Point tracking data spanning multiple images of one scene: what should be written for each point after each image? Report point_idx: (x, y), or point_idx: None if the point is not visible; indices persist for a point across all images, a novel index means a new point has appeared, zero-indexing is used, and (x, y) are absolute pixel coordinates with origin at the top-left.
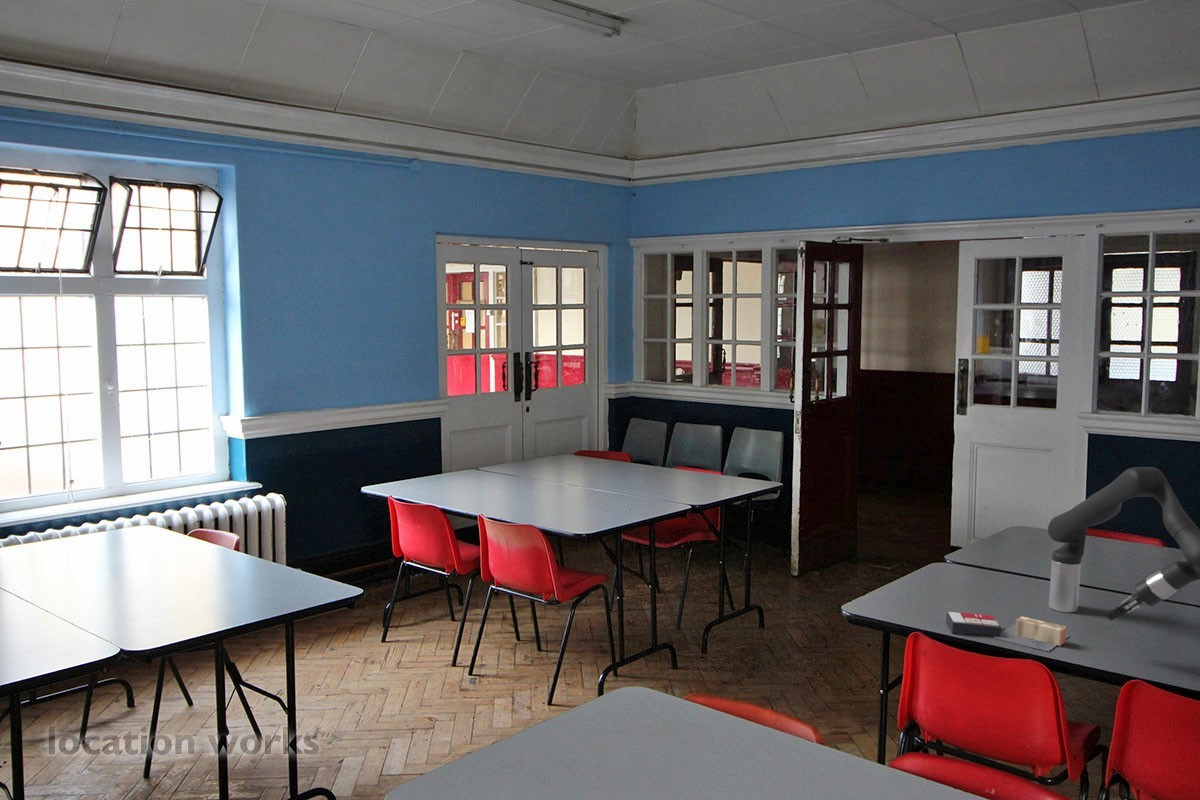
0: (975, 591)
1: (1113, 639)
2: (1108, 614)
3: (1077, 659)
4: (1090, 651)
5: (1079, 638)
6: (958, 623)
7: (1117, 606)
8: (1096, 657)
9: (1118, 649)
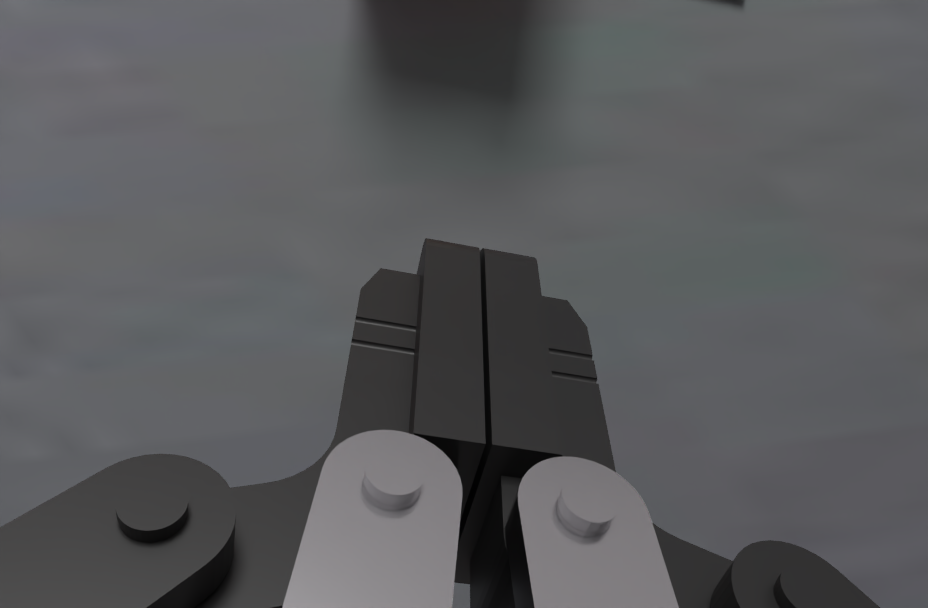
0: None
1: (920, 368)
2: (421, 280)
3: (49, 119)
4: (404, 210)
5: (737, 81)
6: None
7: (392, 498)
8: (243, 284)
9: (649, 450)
